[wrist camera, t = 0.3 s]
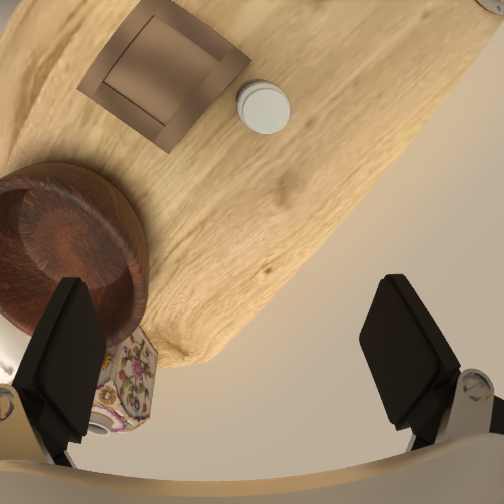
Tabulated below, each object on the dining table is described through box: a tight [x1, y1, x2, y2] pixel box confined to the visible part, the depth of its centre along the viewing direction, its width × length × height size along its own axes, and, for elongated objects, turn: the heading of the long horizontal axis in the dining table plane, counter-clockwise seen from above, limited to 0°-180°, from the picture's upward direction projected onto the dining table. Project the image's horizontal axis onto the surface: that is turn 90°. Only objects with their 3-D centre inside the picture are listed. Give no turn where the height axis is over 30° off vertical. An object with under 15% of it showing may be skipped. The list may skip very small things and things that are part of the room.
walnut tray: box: [76, 0, 251, 154], centre depth 27 cm, size 12×12×5 cm
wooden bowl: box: [0, 162, 149, 349], centre depth 35 cm, size 25×25×10 cm
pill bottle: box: [236, 79, 290, 134], centre depth 28 cm, size 5×5×8 cm
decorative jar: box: [87, 326, 158, 436], centre depth 43 cm, size 12×12×18 cm
